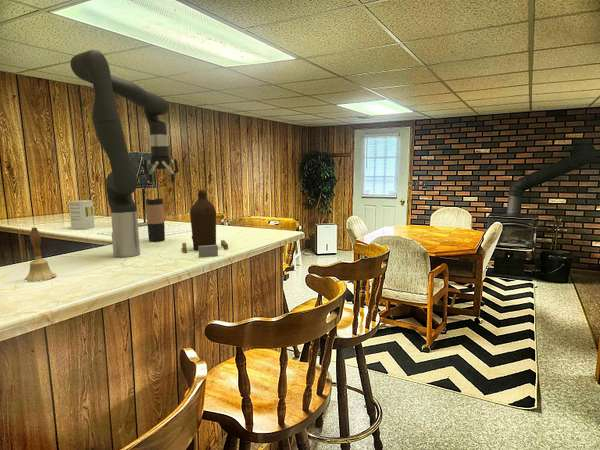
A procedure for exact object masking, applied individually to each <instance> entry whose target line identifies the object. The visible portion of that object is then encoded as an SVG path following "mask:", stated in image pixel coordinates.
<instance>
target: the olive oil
mask: <svg viewBox="0 0 600 450" xmlns="http://www.w3.org/2000/svg"><path fill="white" fill-rule="evenodd" d="M197 192H198V193H197V200H195V202H194V203H193V204H192V206H191V208H190V210H189V218H190V226H191V240H192V247H193V250H194V251H198V246H206V245H217V210H216V207H215V205H214V204H213V203H211V202H210V200H209V199H207V190H206V189H197Z"/></svg>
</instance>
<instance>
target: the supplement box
mask: <svg viewBox="0 0 600 450" xmlns="http://www.w3.org/2000/svg"><path fill="white" fill-rule="evenodd" d="M68 207H69V216H70V219H69V220H70V227H71V230H89V229H93V228H95V227H96V226H95V216H94V215H95V213H94V205H93V200H91V199H90V200H89V199H88V200H87V199H86V200H71V201H68Z"/></svg>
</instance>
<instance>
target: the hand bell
mask: <svg viewBox="0 0 600 450" xmlns="http://www.w3.org/2000/svg"><path fill="white" fill-rule="evenodd" d="M29 239H30V243H31V245H32V247H33V255H34V259H33V260H32V261H31V262H30V263H29V271H28V274H27V276H26V277H25V278H24V280H27V281H39V282H41V281H40V280H45V279H49V278H52V277H54V276H56V275H57V274H56V273H54V272H53V271H52V269H51V268H50V266H49V263H48V260H46V259H43V258H42V253H41V244H42V243H41V242H42V240H41V239H42V238H41V235H40V231H39V230H38V227H36V226H35V227H31V230H30V235H29ZM56 277H57V276H56ZM52 279H53V278H52ZM49 280H50V279H49ZM45 281H46V280H45Z"/></svg>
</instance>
